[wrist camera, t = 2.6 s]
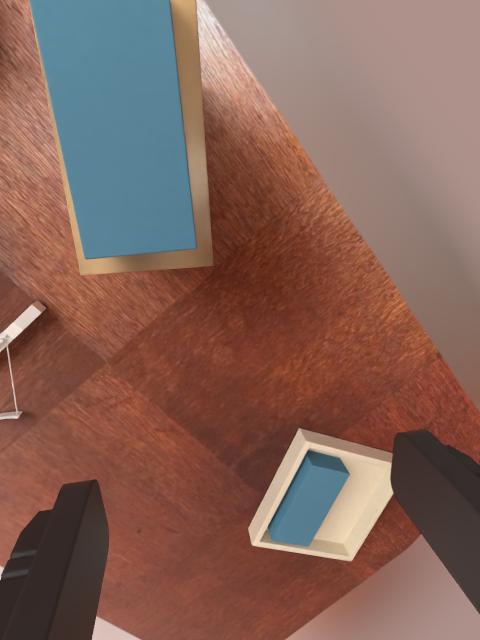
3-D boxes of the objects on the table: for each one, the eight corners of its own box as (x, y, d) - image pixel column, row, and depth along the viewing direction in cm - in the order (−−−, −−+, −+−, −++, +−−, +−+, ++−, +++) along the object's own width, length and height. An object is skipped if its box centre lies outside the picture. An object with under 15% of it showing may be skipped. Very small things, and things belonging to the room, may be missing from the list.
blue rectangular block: (166, -4, 18) (164, -56, 14) (193, 239, 22) (197, 249, 18) (50, -4, 17) (16, -58, 14) (100, 248, 21) (84, 260, 18)
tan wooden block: (186, 74, 31) (195, -11, 18) (199, 240, 36) (213, 266, 23) (89, 74, 30) (24, -18, 17) (115, 245, 35) (80, 275, 22)
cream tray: (398, 454, 50) (409, 467, 47) (343, 544, 54) (351, 561, 51) (299, 427, 45) (306, 441, 43) (248, 528, 49) (251, 545, 47)
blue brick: (340, 457, 47) (350, 474, 44) (301, 527, 50) (308, 547, 47) (303, 448, 46) (312, 465, 43) (265, 521, 49) (271, 540, 46)
